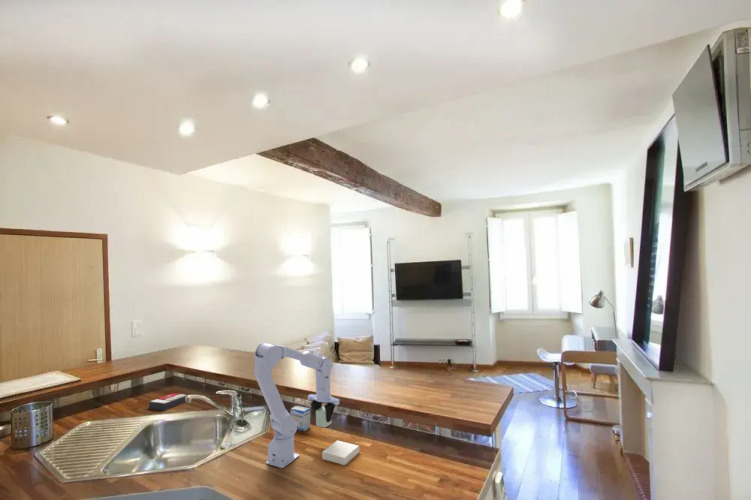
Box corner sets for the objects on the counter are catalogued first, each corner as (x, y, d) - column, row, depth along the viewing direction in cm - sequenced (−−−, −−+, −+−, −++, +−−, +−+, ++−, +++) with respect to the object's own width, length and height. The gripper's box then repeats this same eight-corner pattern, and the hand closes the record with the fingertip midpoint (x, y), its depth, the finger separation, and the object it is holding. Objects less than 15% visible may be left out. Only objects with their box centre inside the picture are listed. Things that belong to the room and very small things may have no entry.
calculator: (187, 394, 203) (164, 402, 189) (187, 402, 203) (164, 411, 189) (173, 392, 207) (148, 400, 193) (172, 400, 206) (148, 409, 192)
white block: (344, 466, 131) (344, 457, 131) (322, 460, 136) (322, 451, 136) (359, 453, 140) (358, 445, 140) (337, 448, 145) (337, 440, 145)
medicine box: (290, 428, 163) (290, 408, 164) (296, 424, 167) (296, 405, 167) (304, 431, 159) (303, 411, 160) (310, 427, 163) (310, 407, 164)
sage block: (325, 427, 146) (324, 412, 146) (316, 425, 148) (315, 410, 148) (331, 423, 150) (331, 408, 150) (322, 421, 152) (322, 406, 152)
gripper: (343, 385, 150) (344, 419, 149) (314, 381, 157) (315, 413, 156) (333, 391, 144) (334, 426, 143) (304, 386, 150) (305, 420, 150)
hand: (323, 420), depth 149 cm, fingers closed on sage block, 4 cm apart
